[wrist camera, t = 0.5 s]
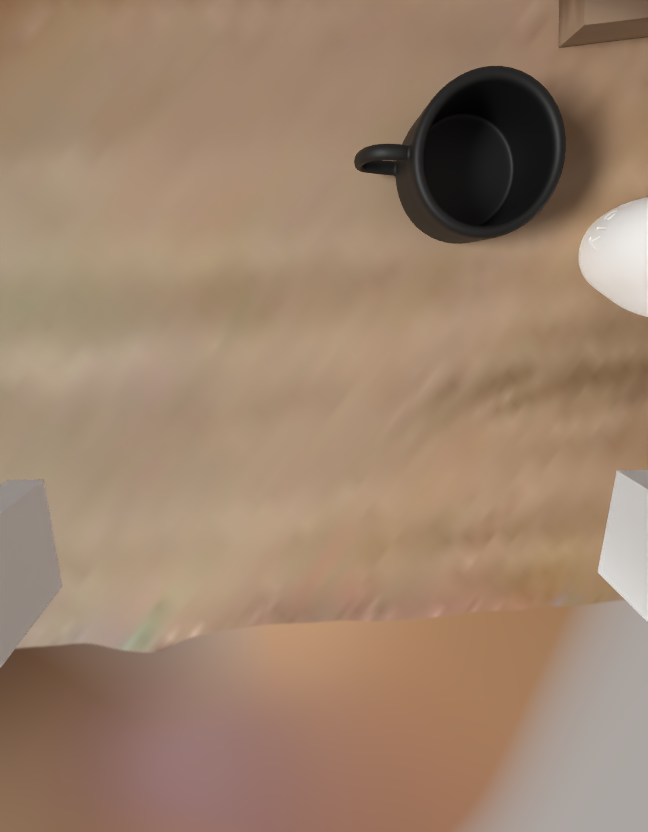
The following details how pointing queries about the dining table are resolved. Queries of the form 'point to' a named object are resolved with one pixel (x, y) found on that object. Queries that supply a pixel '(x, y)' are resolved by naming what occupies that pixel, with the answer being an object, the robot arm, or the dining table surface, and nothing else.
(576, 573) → the dining table surface
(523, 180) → the mug
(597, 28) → the board
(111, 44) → the dining table surface
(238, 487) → the dining table surface
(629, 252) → the figurine
